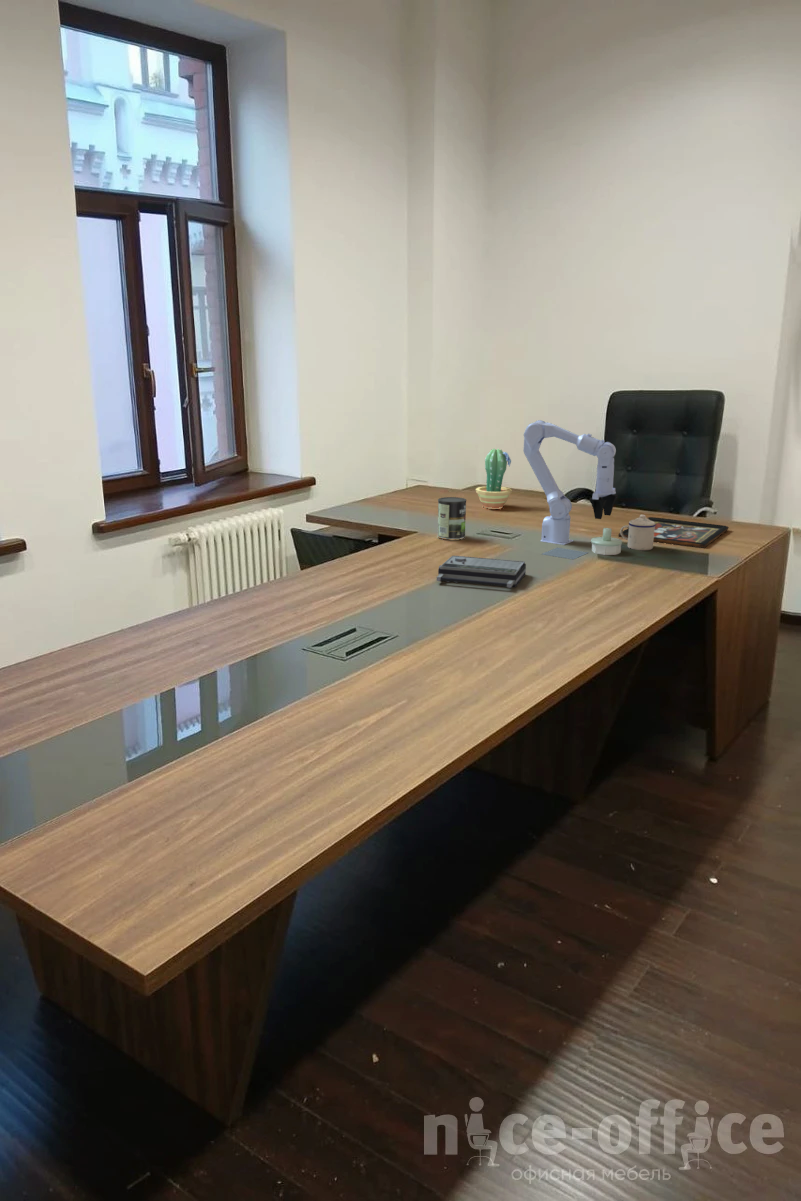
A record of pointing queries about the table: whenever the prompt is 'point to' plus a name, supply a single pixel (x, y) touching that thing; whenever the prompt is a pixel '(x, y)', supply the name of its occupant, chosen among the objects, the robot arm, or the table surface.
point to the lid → (606, 539)
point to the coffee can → (451, 517)
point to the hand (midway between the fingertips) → (602, 516)
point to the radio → (482, 571)
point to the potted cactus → (495, 480)
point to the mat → (565, 553)
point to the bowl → (606, 549)
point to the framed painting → (684, 532)
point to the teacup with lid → (640, 533)
